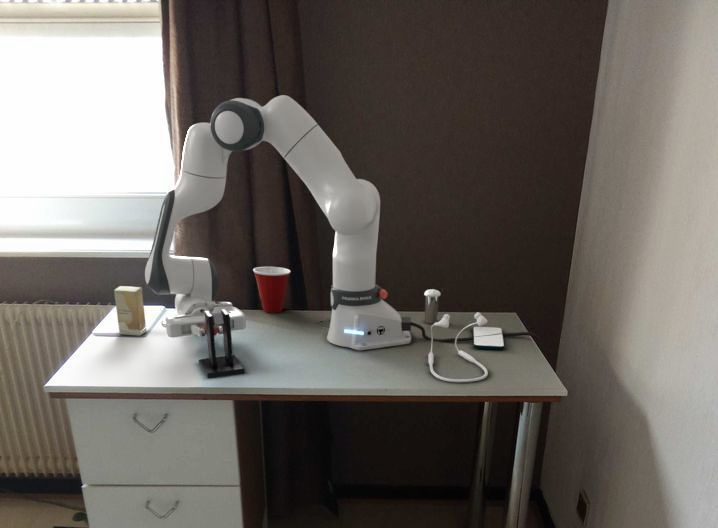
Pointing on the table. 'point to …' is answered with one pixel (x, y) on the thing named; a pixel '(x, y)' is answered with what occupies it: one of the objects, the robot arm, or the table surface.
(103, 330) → the table surface
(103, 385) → the table surface
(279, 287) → the plastic cup
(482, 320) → the earphone
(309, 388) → the table surface
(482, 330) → the smartphone
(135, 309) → the cosmetic box
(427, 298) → the milkshake
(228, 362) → the bracket
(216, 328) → the lever
